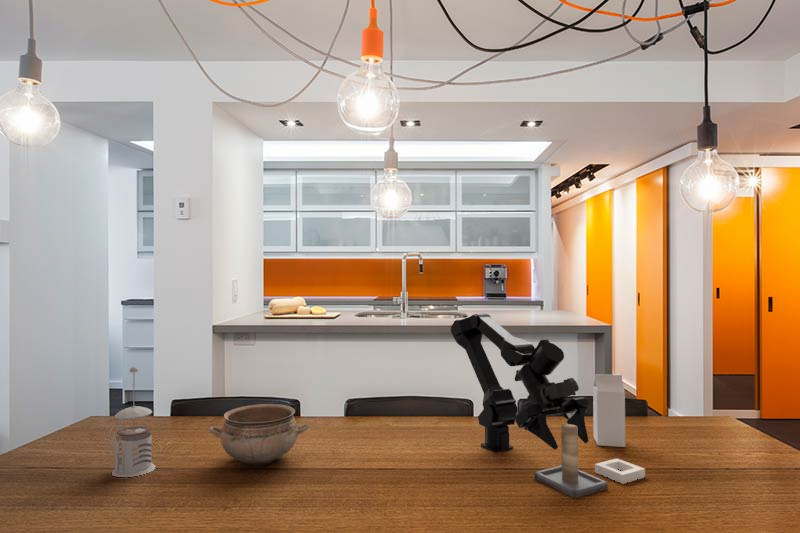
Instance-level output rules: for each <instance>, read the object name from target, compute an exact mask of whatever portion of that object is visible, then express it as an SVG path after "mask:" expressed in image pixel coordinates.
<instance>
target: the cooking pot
mask: <svg viewBox="0 0 800 533" xmlns="http://www.w3.org/2000/svg"><path fill="white" fill-rule="evenodd" d="M295 413H296V409H295V408H293V407H292V406H289V405H285V404H278V403H276V404H274V403H263V404H252V405H245V406H238V407H235V408H233V409H230V410H228V411H226V412H225V413H224V414H223V418H224V419H225V421H224V424H223V427H222V428H219V427H216V426H211V427H209V429H208V431H209V433H210V434H211V435H213V436H215V437H216V438H218V439H220V443H221V446H222V448H223V450H224V451H225V453H226V454H227V455H228V456H229V457H231V458H233V459H235V460H238V461H239V462H241V463H244V464H247V465H248V466H251V465H252V466H253V467H260V466H261V465H262V466H265V465H266V464H267V465H269V463H270V464H271V462H272V463H273V462H274V461H275V460H277V459H279V458H281V457H283V456H284V455H285V454H287V453H288V452H289V451H291V449H292V448H293V447H294V445H295V444H296V442H297V440H298V436H299V435H300V434H302V433H304V432H306V431H307V430H308V429H310V427H311V424H309V423H306V424H303V425H298V424H297V421H296V419H295V416H294V415H295Z"/></svg>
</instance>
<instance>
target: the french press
mask: <svg viewBox="0 0 800 533" xmlns="http://www.w3.org/2000/svg"><path fill="white" fill-rule="evenodd" d="M137 372H139V368H138V367H137V366H131V367H130V368H129V373H133V374H132V375H133V376H132V377H133V380H132V381H133V384H132V385H133V390H132V391H133V395H132V397H133V400H132V402H133V405H132V406H129V407H126V408H124V409H122V410H120V411H118V412H117V413H116V414H115V415H114V417H115V418H116V420H121V421H128V420H129V421H130V420H132V424H133V425H132V426H127V427H125V425H124V424H122V423H121V424H120V425H119V424H118V423H115V424H114V425H113V426H112V427H111V429H110V430H109V432H108V434H107V439H106V440H107V441H106V445H107V446H106V447H107V450H108V451H109V453H110V454H111V455H113V456H114V457H115V459H114V461H115V462H114V465H115V467H114V469H113V470H112V471H111V472H112V475H114V476H117V477H133V476H138V477H140V476H139V475H142V476H144V475H143V474H145V475H147V474H146V473H148V474H150V473H152V472H153V471H155V470H154V469H156V468H157V466H156V465H155V464H154V462H152V459H153V458H152V443H153V442H152V441H153V440H152V438H153V437H152V436H153V435H152V433H151V432H149V431H150V430H151V428H150V427H149V426H147V425H135V420H136V419H137V420H138V419H142V418H146V417H148V416H151V414H152V413H153V411H152V409H150V408H148V407H145V406H144V407H143V406H136V405H135V373H137ZM115 426H116V428H117V429H116V430H115V432H114V433H113V438H112V449H113V451H114V453H113V452H112V451H111V449H110V445H109V439H110V435H111V433H112V430H113V429H114V427H115ZM116 434H117V437H116ZM120 441H121V442H120ZM120 446H121V447H120ZM155 467H156V468H155ZM151 471H152V472H151ZM149 472H150V473H149ZM133 478H134V477H133Z"/></svg>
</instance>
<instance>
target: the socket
mask: <svg viewBox="0 0 800 533" xmlns="http://www.w3.org/2000/svg"><path fill="white" fill-rule="evenodd" d="M618 469H619V470H618ZM620 470H621V471H620ZM594 473H595V474H598V475H600V476H602V475H603V477H605V478H607V477H608V479H610V480H612V481H614V480H615V482H617V483H619V482H620V484H622V485H624V484H627V482H628V483H631V482H634V481H637V479H638V480H641V479H644V477H645V478H646V468H644V467H642V466H639V465H636V464H633V463H631V462H628V461H625V460H622V459H620V458H618V457H617V458H612V459H609V460H605V461H602V462H597V463H594Z"/></svg>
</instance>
